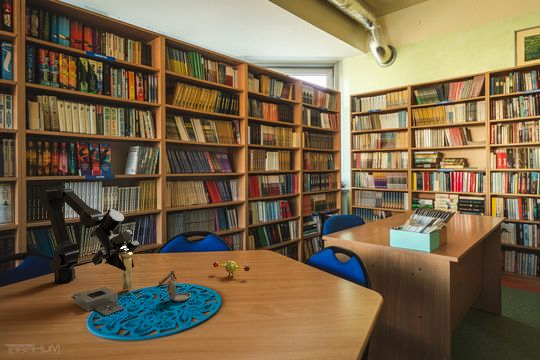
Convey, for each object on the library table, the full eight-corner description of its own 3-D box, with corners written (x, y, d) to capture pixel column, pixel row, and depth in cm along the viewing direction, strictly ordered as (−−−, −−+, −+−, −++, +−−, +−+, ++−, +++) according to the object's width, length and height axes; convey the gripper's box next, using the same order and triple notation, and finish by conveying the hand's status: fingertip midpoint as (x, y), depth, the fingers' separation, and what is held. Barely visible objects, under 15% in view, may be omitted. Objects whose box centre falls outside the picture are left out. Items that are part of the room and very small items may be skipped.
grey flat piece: (66, 298, 114) (66, 289, 114) (95, 289, 122) (95, 282, 122) (98, 318, 98) (98, 309, 98) (129, 307, 106) (129, 298, 106)
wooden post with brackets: (179, 277, 132) (175, 269, 131) (164, 290, 127) (160, 282, 125) (176, 277, 133) (172, 268, 132) (161, 289, 128) (157, 281, 126)
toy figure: (209, 275, 137) (209, 260, 137) (216, 271, 142) (216, 257, 142) (246, 280, 131) (246, 265, 130) (252, 276, 136) (252, 261, 135)
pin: (118, 290, 118) (118, 254, 118) (122, 285, 122) (122, 251, 122) (131, 289, 119) (130, 254, 118) (134, 285, 123) (134, 251, 123)
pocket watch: (194, 296, 115) (193, 269, 115) (180, 305, 107) (180, 276, 107) (175, 293, 118) (175, 267, 117) (161, 302, 110) (160, 274, 109)
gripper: (97, 228, 112) (121, 262, 109) (135, 220, 130) (157, 249, 126) (81, 248, 115) (105, 281, 112) (121, 238, 133) (142, 266, 129)
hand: (129, 268), depth 120 cm, fingers closed on pin, 4 cm apart
